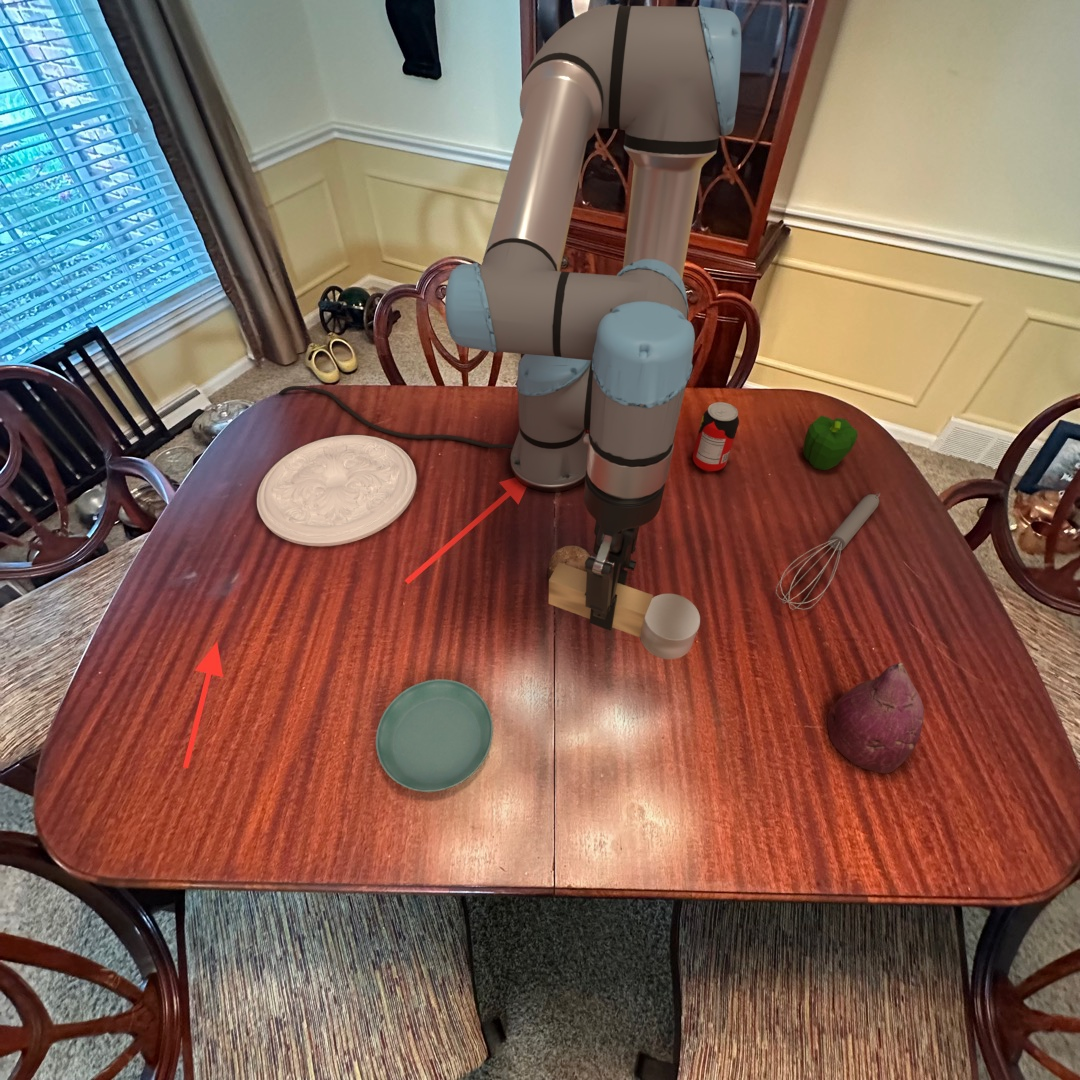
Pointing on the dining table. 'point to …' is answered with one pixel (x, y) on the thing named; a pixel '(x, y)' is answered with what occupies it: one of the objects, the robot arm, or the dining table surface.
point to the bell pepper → (828, 442)
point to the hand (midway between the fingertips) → (606, 612)
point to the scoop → (633, 612)
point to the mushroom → (568, 558)
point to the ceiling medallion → (336, 490)
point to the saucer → (434, 735)
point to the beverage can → (715, 436)
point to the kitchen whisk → (838, 541)
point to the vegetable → (878, 721)
